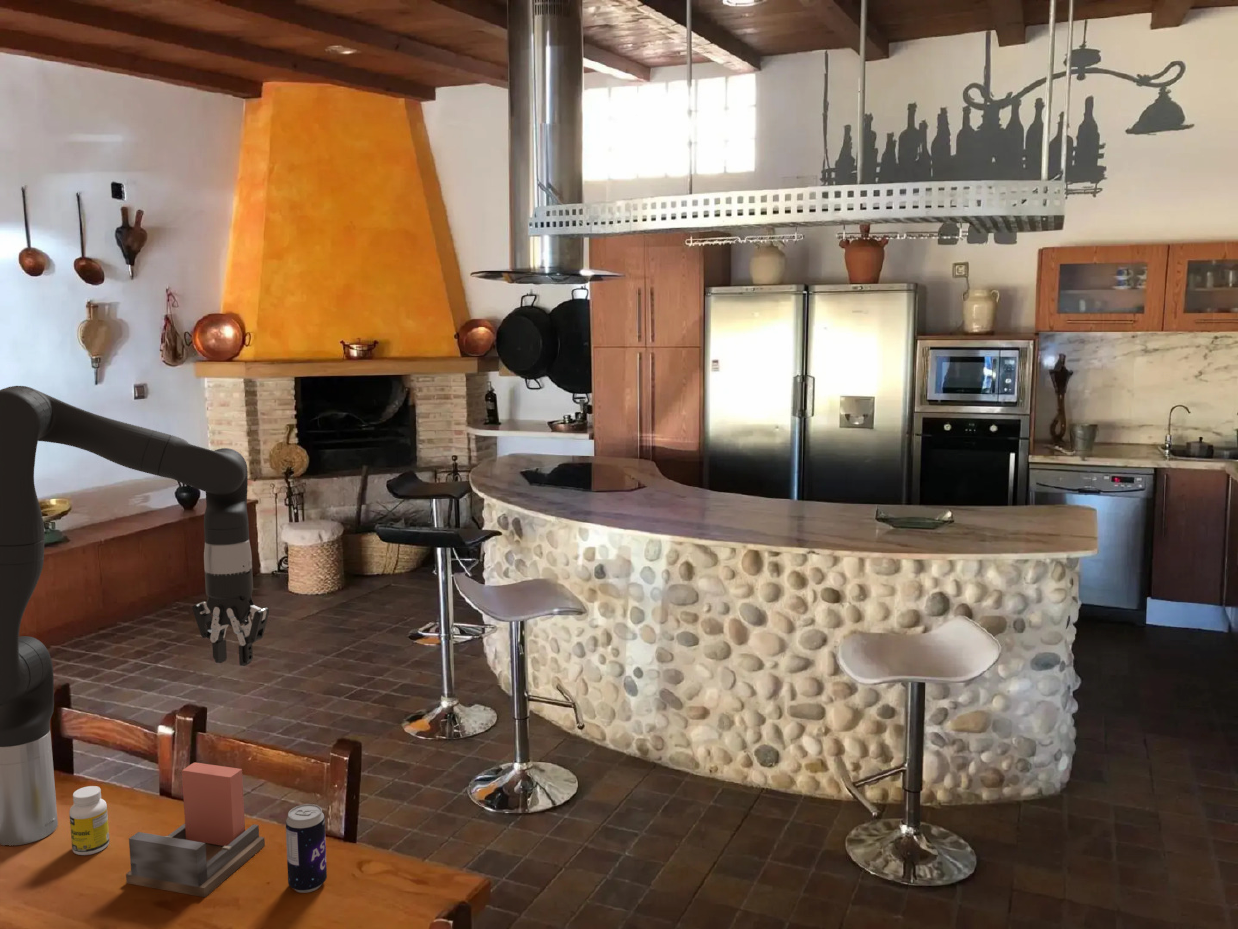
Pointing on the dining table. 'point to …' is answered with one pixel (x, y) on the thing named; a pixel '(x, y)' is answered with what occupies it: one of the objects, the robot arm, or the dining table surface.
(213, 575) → the robot arm
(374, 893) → the dining table surface
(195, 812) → the pink upright block
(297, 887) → the beverage can
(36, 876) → the dining table surface
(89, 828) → the supplement bottle
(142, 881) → the holder
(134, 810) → the dining table surface
